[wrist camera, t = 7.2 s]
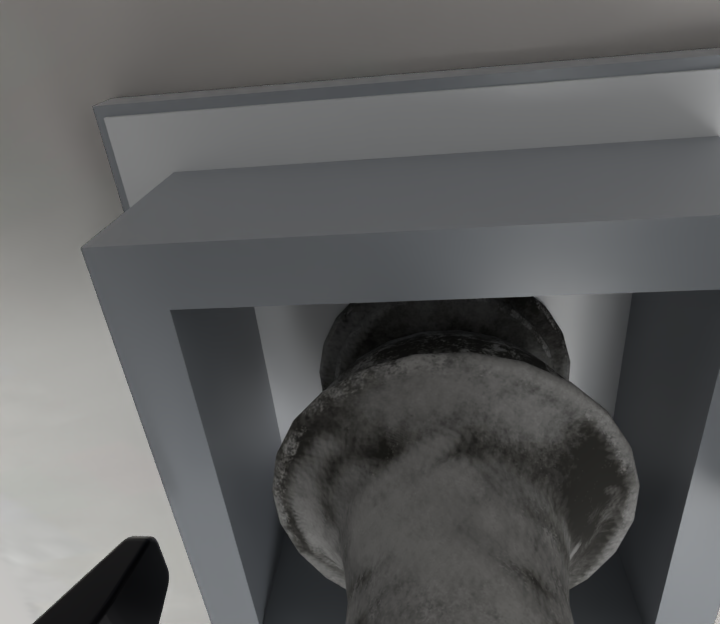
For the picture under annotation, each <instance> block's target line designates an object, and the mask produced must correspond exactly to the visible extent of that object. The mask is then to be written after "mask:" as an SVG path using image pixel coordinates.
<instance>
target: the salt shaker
mask: <svg viewBox="0 0 720 624" xmlns="http://www.w3.org/2000/svg"><path fill="white" fill-rule="evenodd" d="M319 373H320V379H321V385H322V392H321V393H320V394H319V395H318V396H317V397H316V398H315V399H314V400H313V401H312V402H311V403H310V404H309V405H308V406H307V407H306V408H305V409H304V410H303V411H302V412H301V413H300V414H299V415H298V416H297V417H296V418H295V419H294V420H293V422H292V424H291V426H290V428H289V430H288V432H287V434H286V436H285V438H284V440H283V442H282V444H281V446H280V448H279V450H278V452H277V455H276V460H275V469H274V478H273V487H272V492H273V496H274V500H275V504H276V508H277V512H278V516H279V520H280V523H281V525H282V526H283V528H284V530H285V531H286V533H287V534H288V536H289V538H290V539H291V541H292V542H293V544H294V546H295V547H296V549H297V550H298V552H299V553H300V554H301V555H302V556H303V557H304V558H305V559H306V560H307V561H308V562H310V563H311V564H312V565H313V566H314V567H315V568H316V569H317V570H318V571H319V572H320V573H321V574H323V575H324V576H325V577H326V578H327V579H329V580H331V581H332V582H334V583H336V584H338V585H339V586H341V587H343V588H344V589H346V593H347V602H348V605H347V614H346V623H345V624H574V621H573V617H572V613H571V609H570V604H569V589H571V588H573V587H575V586H576V585H578V584H580V583H582V582H583V581H585V580H587V579H588V578H589V577H590V576H591V575H592V574H593V573H594V572H595V571H597V570H598V569H599V568H600V567H601V566H602V565H603V564H604V563H605V562H606V561H607V560H608V559H609V558H610V557H611V556H612V555H613V554H614V553H615V552H616V551H617V549H618V547H619V545H620V544H621V542H622V540H623V538H624V537H625V535H626V533H627V531H628V530H629V528H630V526H631V524H632V523H633V521H634V517H635V511H636V505H637V499H638V493H639V487H640V484H639V479H638V475H637V470H636V466H635V461H634V457H633V452H632V449H631V446H630V444H629V443H628V441H627V440H626V438H625V437H624V435H623V434H622V432H621V431H620V429H619V428H618V426H617V425H616V423H615V422H614V420H613V419H612V417H611V416H610V414H609V413H608V411H607V410H606V409H605V408H603V407H602V406H601V405H600V404H598V403H597V402H596V401H594V400H593V399H592V398H591V397H589V396H588V395H587V394H586V393H584V392H583V391H582V390H581V389H579V388H578V387H577V386H576V385H574V384H573V383H572V382H570V381H569V374H570V358H569V355H568V351H567V347H566V343H565V339H564V335H563V333H562V331H561V329H560V328H559V326H558V325H557V323H556V322H555V320H554V318H553V317H552V315H551V314H550V312H549V311H548V309H547V308H546V306H544V305H543V304H542V303H541V302H540V301H538V300H537V299H536V298H535V297H534V296H531V297H504V298H477V299H450V300H423V301H397V302H370V303H350V304H349V305H348V306H347V307H346V308H345V309H344V310H343V311H342V312H341V313H340V314H339V315H338V316H337V317H336V319H335V321H334V323H333V325H332V327H331V329H330V331H329V333H328V335H327V337H326V339H325V341H324V344H323V350H322V357H321V364H320V371H319Z"/></svg>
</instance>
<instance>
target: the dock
mask: <svg viewBox="0 0 720 624" xmlns="http://www.w3.org/2000/svg"><path fill="white" fill-rule="evenodd" d="M92 107H93V110H94V113H95V117H96V120H97V123H98V127H99V130H100V133H101V137H102V140H103V143H104V147H105V150H106V153H107V157H108V160H109V163H110V167H111V170H112V173H113V177H114V180H115V183H116V187H117V190H118V193H119V197H120V200H121V203H122V207H123V210H124V213H123V214H122V215H121V216H119V217H118V218H117V219H116V220H114V221H113V222H112V223H111V224H109V225H108V226H107V227H106V228H104V229H103V230H102V231H101V232H100V233H98V234H97V235H96V236H95V237H93V238H92V239H91V240H90V241H88V242H87V243H86V244H85V245H84V246H82V247H81V251H82V254H83V256H84V259H85V262H86V265H87V268H88V271H89V274H90V277H91V279H92V282H93V285H94V288H95V291H96V294H97V297H98V299H99V302H100V305H101V308H102V311H103V314H104V317H105V320H106V322H107V325H108V328H109V331H110V334H111V337H112V340H113V343H114V345H115V348H116V351H117V354H118V357H119V360H120V363H121V365H122V368H123V371H124V374H125V377H126V380H127V383H128V386H129V388H130V391H131V394H132V397H133V400H134V403H135V406H136V409H137V411H138V414H139V417H140V420H141V423H142V426H143V429H144V432H145V434H146V437H147V440H148V443H149V446H150V449H151V452H152V454H153V457H154V460H155V463H156V466H157V469H158V472H159V475H160V477H161V480H162V483H163V486H164V489H165V492H166V495H167V498H168V500H169V503H170V506H171V509H172V512H173V515H174V518H175V520H176V523H177V526H178V529H179V532H180V535H181V538H182V541H183V543H184V546H185V549H186V552H187V555H188V558H189V561H190V564H191V566H192V569H193V572H194V575H195V578H196V581H197V584H198V587H199V589H200V592H201V595H202V598H203V601H204V604H205V607H206V609H207V612H208V615H209V618H210V621H211V624H345V623H346V614H347V605H348V602H347V593H346V589H344V588H343V587H341V586H339V585H338V584H336V583H334V582H332V581H331V580H329V579H327V578H326V577H325V576H324V575H323V574H321V573H320V572H319V571H318V570H317V569H316V568H315V567H314V566H313V565H312V564H311V563H310V562H308V561H307V560H306V559H305V558H304V557H303V556H302V555H301V554H300V553H299V552H298V550H297V549H296V547H295V546H294V544H293V542H292V541H291V539H290V538H289V536H288V534H287V533H286V531H285V530H284V528H283V526H282V525H281V523H280V520H279V516H278V512H277V508H276V504H275V500H274V496H273V492H272V487H273V478H274V469H275V460H276V455H277V452H278V450H279V448H280V446H281V444H282V442H283V440H284V438H285V436H286V434H287V432H288V430H289V428H290V426H291V424H292V422H293V420H294V419H295V418H296V417H297V416H298V415H299V414H300V413H301V412H302V411H303V410H304V409H305V408H306V407H307V406H308V405H309V404H310V403H311V402H312V401H313V400H314V399H315V398H316V397H317V396H318V395H319V394H320V393H321V392H322V385H321V379H320V373H319V371H320V364H321V357H322V350H323V344H324V341H325V339H326V337H327V335H328V333H329V331H330V329H331V327H332V325H333V323H334V321H335V319H336V317H337V316H338V315H339V314H340V313H341V312H342V311H343V310H344V309H345V308H346V307H347V306H348V305H349V304H350V303H370V302H397V301H423V300H450V299H477V298H504V297H531V296H534V297H535V298H536V299H537V300H538V301H540V302H541V303H542V304H543V305H544V306H546V308H547V309H548V311H549V312H550V314H551V315H552V317H553V318H554V320H555V322H556V323H557V325H558V326H559V328H560V329H561V331H562V333H563V335H564V339H565V343H566V347H567V351H568V355H569V358H570V374H569V381H570V382H572V383H573V384H574V385H576V386H577V387H578V388H579V389H581V390H582V391H583V392H584V393H586V394H587V395H588V396H589V397H591V398H592V399H593V400H594V401H596V402H597V403H598V404H600V405H601V406H602V407H603V408H605V409H606V410H607V411H608V413H609V414H610V416H611V417H612V419H613V420H614V422H615V423H616V425H617V426H618V428H619V429H620V431H621V432H622V434H623V435H624V437H625V438H626V440H627V441H628V443H629V444H630V446H631V449H632V452H633V457H634V461H635V466H636V470H637V475H638V479H639V484H640V487H639V493H638V499H637V505H636V511H635V517H634V521H633V523H632V524H631V526H630V528H629V530H628V531H627V533H626V535H625V537H624V538H623V540H622V542H621V544H620V545H619V547H618V549H617V551H616V552H615V553H614V554H613V555H612V556H611V557H610V558H609V559H608V560H607V561H606V562H605V563H604V564H603V565H602V566H601V567H600V568H599V569H598V570H597V571H595V572H594V573H593V574H592V575H591V576H590V577H589V578H588V579H587V580H585V581H583V582H582V583H580V584H578V585H576V586H575V587H573V588H571V589H569V604H570V609H571V613H572V617H573V621H574V624H714V623H715V620H716V617H717V614H718V611H719V608H720V47H719V48H707V49H695V50H683V51H671V52H659V53H647V54H635V55H623V56H611V57H599V58H587V59H576V60H564V61H552V62H540V63H528V64H516V65H504V66H492V67H480V68H468V69H456V70H444V71H432V72H420V73H408V74H396V75H384V76H372V77H360V78H348V79H336V80H324V81H312V82H300V83H288V84H276V85H264V86H252V87H240V88H228V89H216V90H204V91H192V92H180V93H168V94H156V95H144V96H132V97H120V98H112V99H109V100H107V101H104V102H102V103H99V104H97V105H94V106H92Z"/></svg>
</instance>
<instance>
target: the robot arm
mask: <svg viewBox="0 0 720 624" xmlns="http://www.w3.org/2000/svg"><path fill="white" fill-rule="evenodd" d="M168 583H169V572H168V568H167V565H166V563H165V560H164V557H163V555H162V552H161V549H160V547H159V544H158V542H157V540H156V539H155V538H154V537H151V536H132V537H128V538H127V539H125V540H124V541H122V542H121V543H120V544H119V545H118V546H117V547H116V548H115V549H114V550H113V551H111V552H110V553H109V554H108V555H107V556H106V557H105V558H104V559H103V560H102V561H101V562H99V563H98V564H97V565H96V566H95V567H94V568H93V569H92V570H91V571H90V572H89V573H87V574H86V575H85V576H84V577H83V578H82V579H81V580H80V581H79V582H78V583H76V584H75V585H74V586H73V587H72V588H71V589H70V590H69V591H68V592H67V593H66V594H64V595H63V596H62V597H61V598H60V599H59V600H58V601H57V602H56V603H55V604H54V605H52V606H51V607H50V608H49V609H48V610H47V611H46V612H45V613H44V614H43V615H41V616H40V617H39V618H38V619H37V620H36V621H35V622H34V623H33V624H159V621H160V617H161V613H162V609H163V604H164V600H165V596H166V592H167V588H168Z"/></svg>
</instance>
